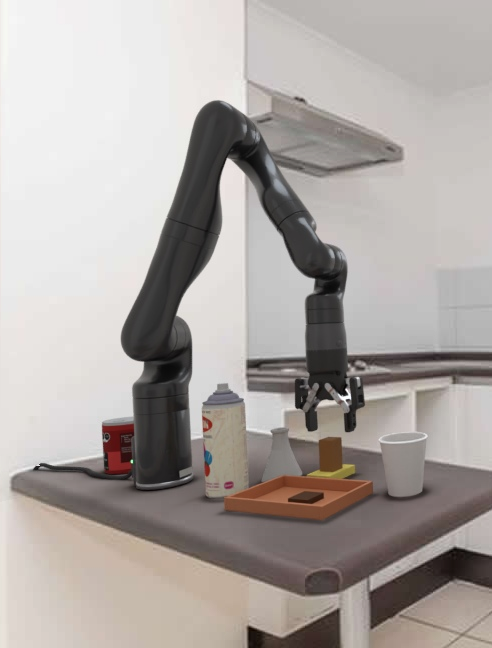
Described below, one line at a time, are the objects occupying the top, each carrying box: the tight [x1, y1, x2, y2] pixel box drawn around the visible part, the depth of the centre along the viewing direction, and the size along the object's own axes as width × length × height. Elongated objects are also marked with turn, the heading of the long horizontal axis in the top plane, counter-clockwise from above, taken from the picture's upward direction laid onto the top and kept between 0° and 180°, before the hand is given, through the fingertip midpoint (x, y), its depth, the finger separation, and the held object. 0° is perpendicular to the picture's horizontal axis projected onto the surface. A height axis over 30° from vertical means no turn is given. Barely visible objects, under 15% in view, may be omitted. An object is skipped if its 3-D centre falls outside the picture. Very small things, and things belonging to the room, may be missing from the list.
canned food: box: [101, 416, 134, 475], centre depth 120 cm, size 8×8×11 cm
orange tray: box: [223, 475, 374, 521], centre depth 92 cm, size 19×13×2 cm
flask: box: [260, 426, 303, 483], centre depth 107 cm, size 7×7×10 cm
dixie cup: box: [378, 431, 429, 498], centre depth 96 cm, size 8×8×10 cm
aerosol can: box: [201, 382, 250, 499], centre depth 99 cm, size 7×7×20 cm
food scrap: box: [288, 491, 324, 504], centre depth 92 cm, size 4×4×1 cm
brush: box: [306, 436, 356, 479], centre depth 106 cm, size 5×8×8 cm, turn 161°
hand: (331, 431), depth 106 cm, fingers open, 8 cm apart
